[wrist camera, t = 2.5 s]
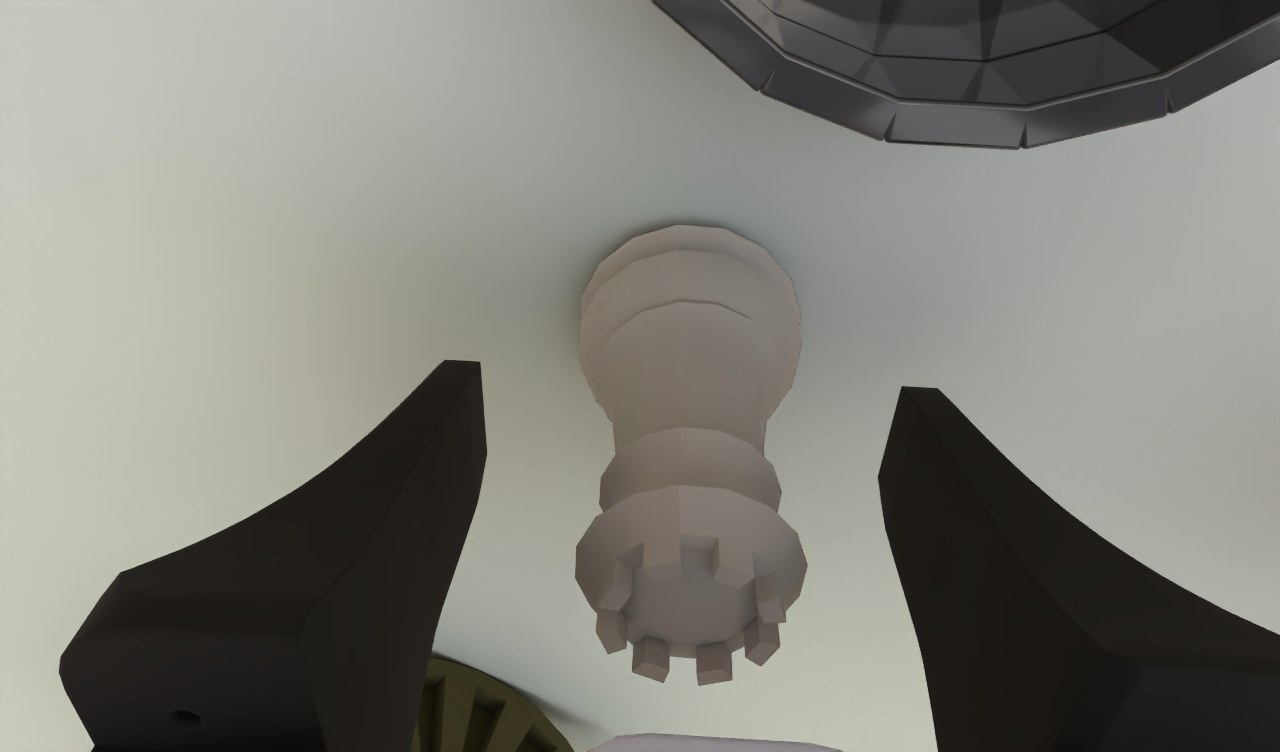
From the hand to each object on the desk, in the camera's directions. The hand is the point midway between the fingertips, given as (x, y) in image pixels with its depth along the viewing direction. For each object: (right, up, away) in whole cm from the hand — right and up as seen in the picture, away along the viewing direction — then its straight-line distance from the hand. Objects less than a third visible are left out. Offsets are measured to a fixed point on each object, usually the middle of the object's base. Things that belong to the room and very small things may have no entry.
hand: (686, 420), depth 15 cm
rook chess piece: (0, +2, +3) cm, 4 cm away
